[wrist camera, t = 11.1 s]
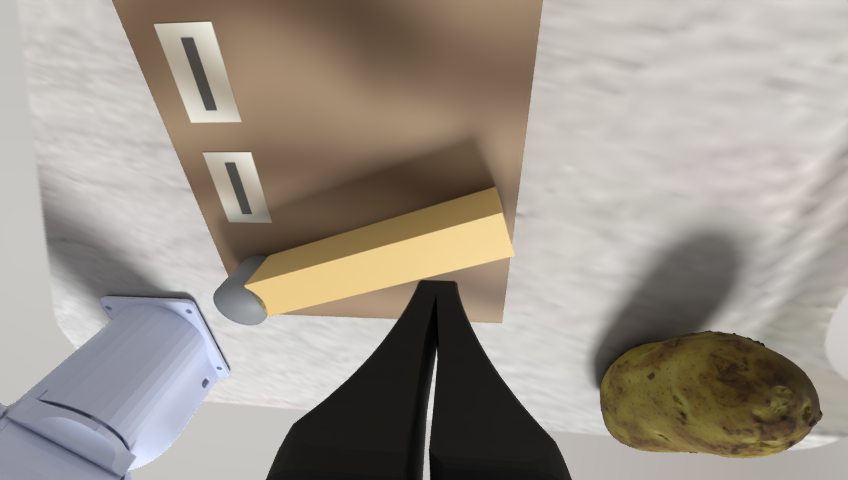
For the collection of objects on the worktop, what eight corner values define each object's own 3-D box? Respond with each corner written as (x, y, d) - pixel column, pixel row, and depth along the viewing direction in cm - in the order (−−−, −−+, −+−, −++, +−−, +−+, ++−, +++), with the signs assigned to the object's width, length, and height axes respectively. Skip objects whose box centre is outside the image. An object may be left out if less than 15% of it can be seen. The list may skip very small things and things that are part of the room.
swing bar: (259, 297, 24) (235, 329, 21) (231, 262, 22) (202, 292, 20) (508, 230, 19) (516, 261, 17) (494, 180, 18) (500, 206, 15)
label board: (499, 308, 25) (502, 324, 24) (254, 299, 27) (243, 313, 25) (544, -73, 14) (553, -83, 13) (119, -47, 16) (87, -54, 14)
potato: (551, 368, 28) (580, 476, 21) (705, 276, 22) (814, 385, 15) (615, 410, 30) (660, 520, 24) (771, 336, 24) (892, 455, 18)
